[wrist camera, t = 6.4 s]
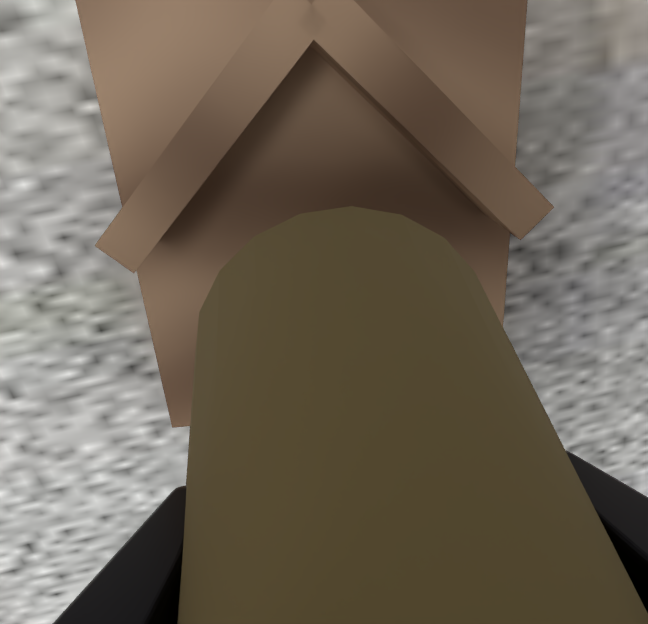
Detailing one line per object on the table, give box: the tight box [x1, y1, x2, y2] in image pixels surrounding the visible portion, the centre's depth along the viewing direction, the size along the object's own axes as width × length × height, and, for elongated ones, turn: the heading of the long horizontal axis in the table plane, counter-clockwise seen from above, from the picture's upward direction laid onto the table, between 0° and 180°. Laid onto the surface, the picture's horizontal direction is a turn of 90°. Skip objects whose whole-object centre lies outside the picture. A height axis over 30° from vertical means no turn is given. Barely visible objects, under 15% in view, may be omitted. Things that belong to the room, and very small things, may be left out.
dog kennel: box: [75, 0, 554, 428], centre depth 17 cm, size 15×12×4 cm
